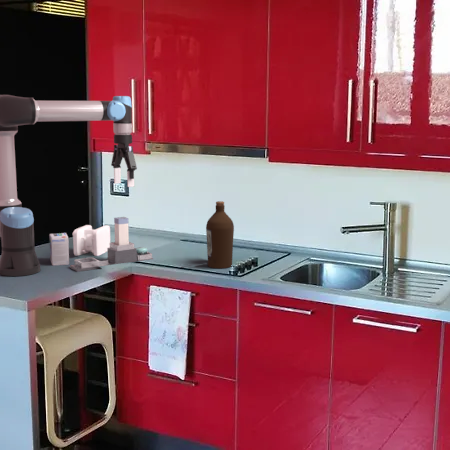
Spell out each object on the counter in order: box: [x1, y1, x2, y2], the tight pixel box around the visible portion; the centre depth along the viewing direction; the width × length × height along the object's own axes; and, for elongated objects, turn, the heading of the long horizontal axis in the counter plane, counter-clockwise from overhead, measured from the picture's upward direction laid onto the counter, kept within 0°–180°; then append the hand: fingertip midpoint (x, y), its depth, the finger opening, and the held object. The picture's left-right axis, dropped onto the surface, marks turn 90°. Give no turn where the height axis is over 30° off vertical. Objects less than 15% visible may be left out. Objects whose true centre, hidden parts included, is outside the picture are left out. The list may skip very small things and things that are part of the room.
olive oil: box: [205, 200, 235, 270], centre depth 266 cm, size 11×11×25 cm
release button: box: [135, 246, 148, 253], centre depth 276 cm, size 4×4×2 cm
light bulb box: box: [48, 232, 70, 266], centre depth 273 cm, size 11×7×11 cm, turn 18°
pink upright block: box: [113, 216, 130, 245], centre depth 270 cm, size 4×5×12 cm
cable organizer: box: [72, 224, 111, 257], centre depth 286 cm, size 15×11×12 cm
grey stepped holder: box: [69, 241, 154, 273], centre depth 269 cm, size 32×8×8 cm, turn 123°
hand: (124, 185), depth 291 cm, fingers open, 13 cm apart
